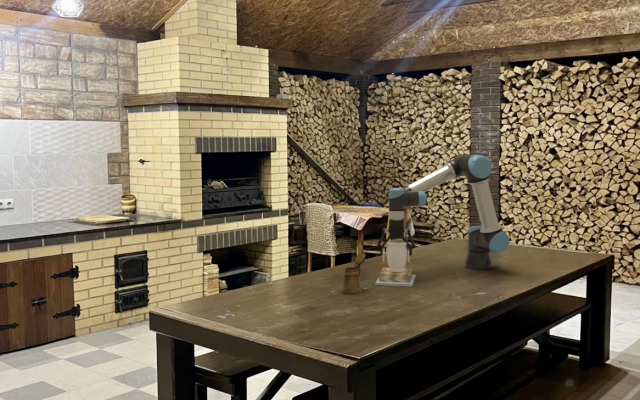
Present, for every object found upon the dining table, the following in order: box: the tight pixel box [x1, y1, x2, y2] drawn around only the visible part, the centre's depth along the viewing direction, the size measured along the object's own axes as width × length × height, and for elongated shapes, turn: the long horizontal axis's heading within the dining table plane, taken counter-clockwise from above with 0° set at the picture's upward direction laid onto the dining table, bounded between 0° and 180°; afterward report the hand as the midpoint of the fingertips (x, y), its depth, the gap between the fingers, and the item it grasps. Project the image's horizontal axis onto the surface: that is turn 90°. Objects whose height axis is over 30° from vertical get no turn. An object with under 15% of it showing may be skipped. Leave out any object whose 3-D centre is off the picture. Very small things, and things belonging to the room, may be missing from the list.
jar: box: [385, 239, 408, 272], centre depth 336 cm, size 11×10×15 cm
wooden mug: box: [341, 251, 367, 294], centre depth 317 cm, size 9×14×18 cm, turn 135°
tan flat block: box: [378, 267, 413, 283], centre depth 337 cm, size 15×15×4 cm
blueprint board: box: [374, 274, 417, 288], centre depth 338 cm, size 18×22×1 cm
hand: (396, 261), depth 337 cm, fingers open, 12 cm apart
